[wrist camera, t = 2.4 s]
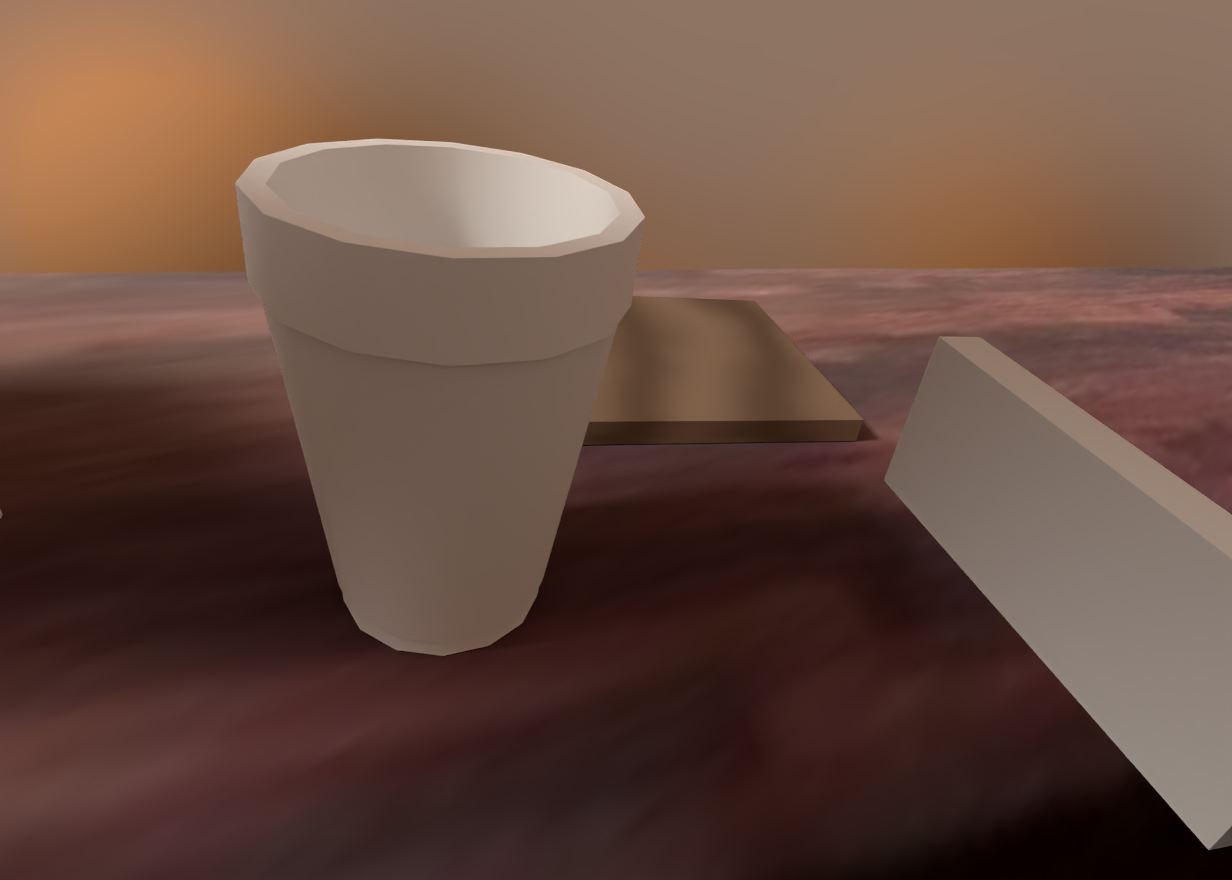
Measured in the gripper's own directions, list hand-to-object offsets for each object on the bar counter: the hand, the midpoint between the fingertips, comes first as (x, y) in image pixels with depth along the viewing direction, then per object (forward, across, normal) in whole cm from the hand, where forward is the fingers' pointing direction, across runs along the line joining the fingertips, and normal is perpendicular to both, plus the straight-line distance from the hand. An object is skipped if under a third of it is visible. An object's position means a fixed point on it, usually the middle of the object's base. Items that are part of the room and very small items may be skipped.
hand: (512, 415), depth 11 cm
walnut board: (+25, +10, -12) cm, 30 cm away
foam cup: (+10, 0, -13) cm, 16 cm away
